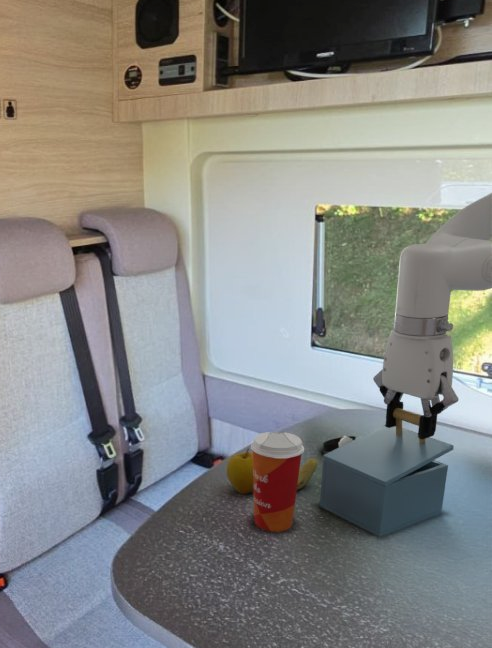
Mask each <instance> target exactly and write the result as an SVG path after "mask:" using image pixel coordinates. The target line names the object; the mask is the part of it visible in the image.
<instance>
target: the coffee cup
mask: <svg viewBox="0 0 492 648" xmlns="http://www.w3.org/2000/svg"><path fill="white" fill-rule="evenodd" d="M250 449H251V450H252V453H253V483H254V491H253V514H254V516H253V517H254V525H256V526H257V527H258V528H260V529H262V530H263V531H267V532H276V533H277V532H284V531H287V530H290V529H291V527H292V525H293V520H294V514H295V507H296V499H297V492H298V490H297V485H298V477H299V470H300V469H301V462H302V461H301V460H302V455H303V453H304V452H305V447H304V445H303V441H302V439H301V438H300V436H298V435H296V434H293V433H289V432H285V431H284V432H283V433H281V432H280V431H272V432H270V431H266V432H261V433H259V434H256V435H255V436H254V438H253V441H252V443H251V444H250Z"/></svg>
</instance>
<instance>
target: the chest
mask: <svg viewBox="0 0 492 648" xmlns="http://www.w3.org/2000/svg"><path fill="white" fill-rule="evenodd" d="M448 468H449V465H448V464H446V463H443V462H440V461H439V460H436V459H435V460H433V461H431V462H429V463H428V464H426V465H424V466H422V467H420V468H418V469H417V470H415V471H413V472H411V473H409V474H407V475H405V476H404V477H402V478H400V479H398V480H396V481H394V482H393V483H391V484H389V485H387V486H384V485H381V484H379V483H377V482H374V481H372V480H370V479H368V478H365V477H363V476H361V475H358V474H356V473H354V472H352V471H349V470H347V469H345V468H342V467H340V466H338V465H336V464H333V463H331V462H329V461H326V460H324V459H323V460H322V469H321V471H322V472H321V483H320V484H321V485H320V497H319V500H320V501H319V507H320V508H323V509H324V510H325V511H326V510H327V511H328V512H330V513H332V514H334V515H336V516H338V517H340V518H342V519H344V520H346V521H348V522H350V523H352V524H353V525H356V526H357V527H360V528H361V529H363V530H365V531H367V532H369V533H371V534H373V535H375V536H376V537H379V538H380V537H383V536H385V535H388V534H391V533H393V532H396V531H398V530H401V529H404V528H406V527H409V526H412V525H414V524H417V523H419V522H422V521H424V520H425V521H426V520H427V519H430V518H432V517H435V516H437V515H441V514H442V511H443V504H444V498H445V497H444V496H445V489H446V485H447V484H446V483H447V477H448V476H447V475H448V471H449V469H448Z"/></svg>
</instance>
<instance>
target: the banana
mask: <svg viewBox="0 0 492 648" xmlns="http://www.w3.org/2000/svg"><path fill="white" fill-rule="evenodd" d="M317 468H318V459H317V458H315V457H313V458H309V459H307V460H306V461H305V463H303V464H302V466H301V467H300V470H299V477H298V485H297V491H298V490H300V489H302V488H304V487H305V486H306V485H307V483H308V482H309V481H310V479H311V478H312V476H313V475H314V474H315V472H316V471H317Z"/></svg>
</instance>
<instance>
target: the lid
mask: <svg viewBox="0 0 492 648" xmlns="http://www.w3.org/2000/svg"><path fill="white" fill-rule="evenodd" d="M420 416H422V414H421V413H416V412H413V411H410V410H407V409H404V408H403V409H401V408H396V409H395V410H394V412H393V417H394V418H396V426H394V427H391V428H388V427H386V423H385V424H383V425H381V426H380V427H377V428H376V429H373V430H372V431H371V430H370V431H369V432H367V433H365V434H363V435H361V436H359V437H357V438H356V439H355V440H353V441H351V442H349V443H347V444H345V445H343V446H341V447H339V448H337V449H335V450H333V451H331V452H326V453H325V454H323V460H326V461H329V462H331V463H333V464H336V465H338V466H340V467H342V468H345V469H347V470H349V471H352V472H354V473H356V474H358V475H361V476H363V477H365V478H368V479H370V480H372V481H374V482H377V483H379V484H381V485H384V486H387V485H389V484H391V483H393V482H394V481H396V480H398V479H400V478H402V477H404V476H405V475H407V474H409V473H411V472H413V471H415V470H417V469H418V468H420V467H422V466H424V465H426V464H428V463H429V462H431V461H433V460H435V461H436V460H437V459H439V458H441V457H442V456H444V455H447V454H448V453H451V451H453V450H454V444H450V443H448V442H445V441H443V440H439V439H436V438H434V437H432V436H431V437H428V438H425V439H419V438H418V432H416V431H413V430H410V429H408V428H405V427H403V421H404V422H406V423H409V424H412V425H414V426H417V427H419V420H420Z"/></svg>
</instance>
